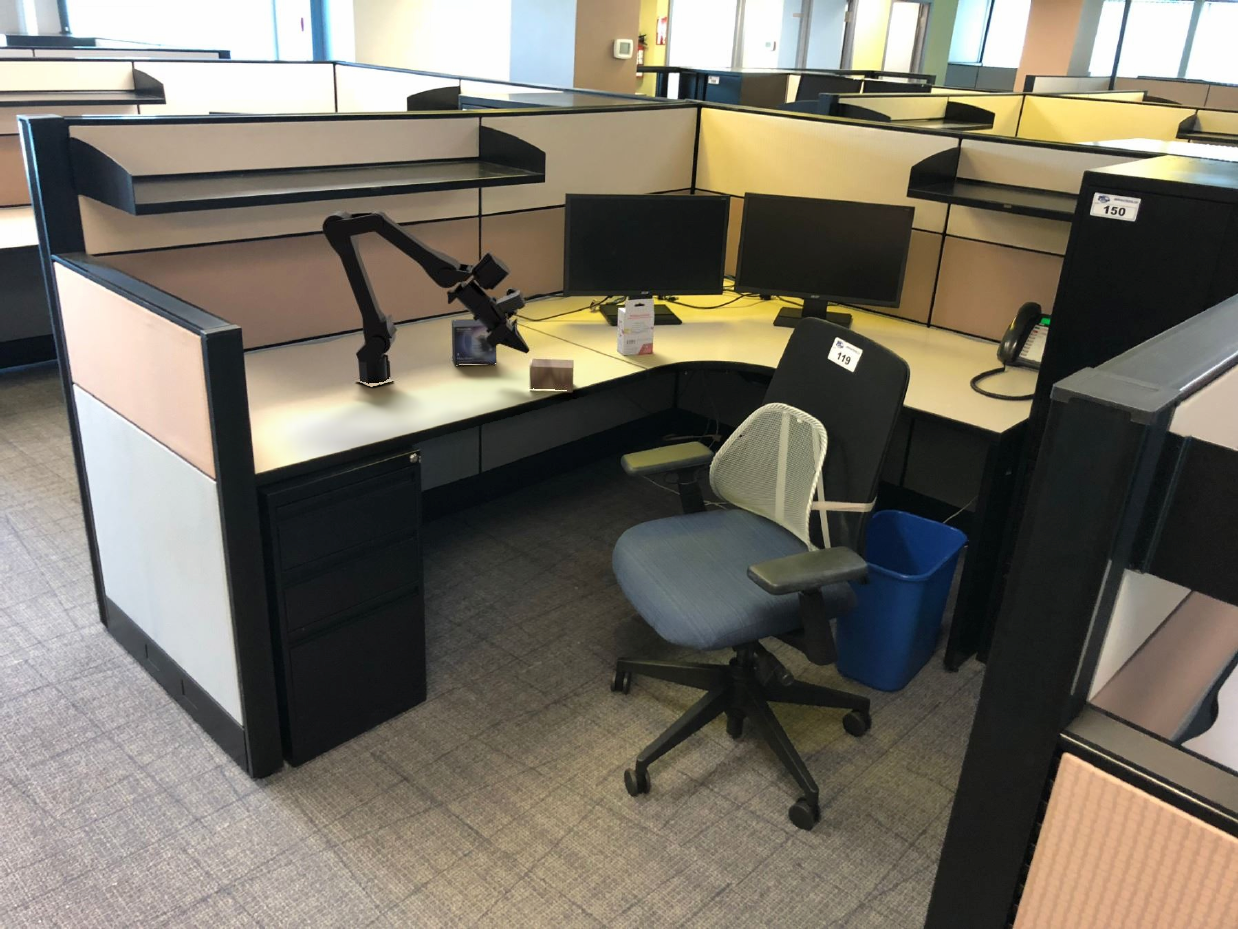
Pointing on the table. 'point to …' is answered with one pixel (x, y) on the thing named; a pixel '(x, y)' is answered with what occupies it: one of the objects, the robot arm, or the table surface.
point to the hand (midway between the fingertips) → (528, 351)
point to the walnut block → (551, 374)
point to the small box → (471, 343)
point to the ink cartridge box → (636, 327)
